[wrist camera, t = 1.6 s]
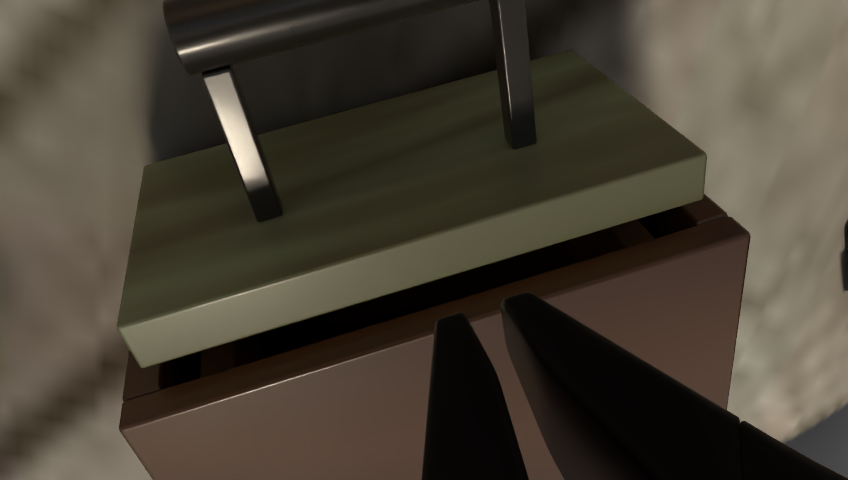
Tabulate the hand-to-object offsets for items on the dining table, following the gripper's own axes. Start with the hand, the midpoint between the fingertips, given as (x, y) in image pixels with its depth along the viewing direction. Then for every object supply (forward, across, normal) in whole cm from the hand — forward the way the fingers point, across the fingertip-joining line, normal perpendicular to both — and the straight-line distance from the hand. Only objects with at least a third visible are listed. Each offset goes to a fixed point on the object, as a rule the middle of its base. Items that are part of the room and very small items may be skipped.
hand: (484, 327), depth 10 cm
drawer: (+11, 0, +5) cm, 12 cm away
